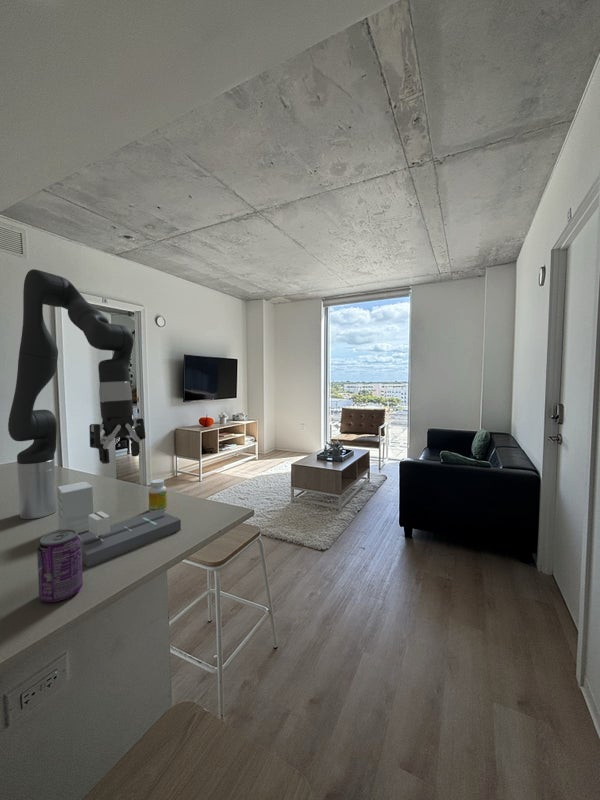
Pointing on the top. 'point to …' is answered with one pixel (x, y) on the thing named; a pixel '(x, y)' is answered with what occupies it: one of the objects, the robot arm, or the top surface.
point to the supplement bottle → (157, 496)
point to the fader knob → (99, 523)
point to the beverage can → (59, 565)
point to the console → (127, 536)
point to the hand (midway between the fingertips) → (121, 459)
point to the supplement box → (75, 506)
